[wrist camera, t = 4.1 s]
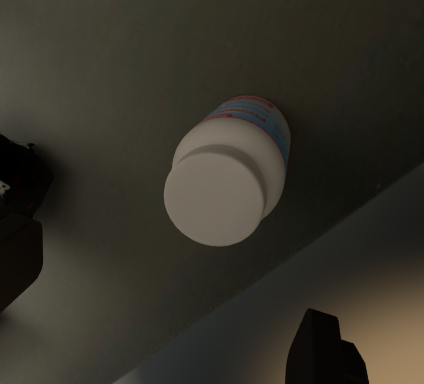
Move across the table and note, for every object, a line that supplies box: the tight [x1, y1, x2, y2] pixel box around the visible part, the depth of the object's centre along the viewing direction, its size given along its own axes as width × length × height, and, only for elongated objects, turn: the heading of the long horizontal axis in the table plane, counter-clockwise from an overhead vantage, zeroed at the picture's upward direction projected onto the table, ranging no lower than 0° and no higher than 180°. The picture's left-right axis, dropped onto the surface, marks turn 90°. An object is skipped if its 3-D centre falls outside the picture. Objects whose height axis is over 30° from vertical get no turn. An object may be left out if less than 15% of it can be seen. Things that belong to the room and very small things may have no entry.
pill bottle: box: [164, 96, 291, 246], centre depth 20 cm, size 6×6×11 cm
